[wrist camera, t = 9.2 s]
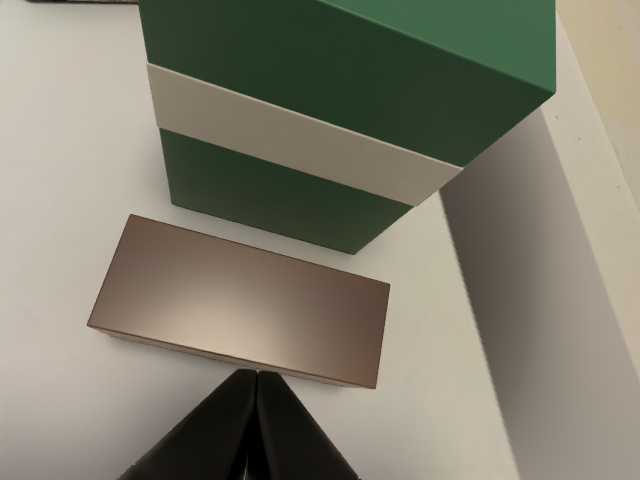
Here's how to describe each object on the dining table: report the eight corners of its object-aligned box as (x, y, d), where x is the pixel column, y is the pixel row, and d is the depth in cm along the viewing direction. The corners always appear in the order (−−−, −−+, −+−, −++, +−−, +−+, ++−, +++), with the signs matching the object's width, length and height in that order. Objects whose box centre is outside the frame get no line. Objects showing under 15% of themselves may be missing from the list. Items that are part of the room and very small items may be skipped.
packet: (355, 256, 21) (559, 96, 9) (170, 204, 19) (119, -76, 7) (367, 184, 22) (557, -36, 10) (196, 130, 21) (189, -204, 9)
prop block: (342, 386, 19) (376, 389, 15) (110, 336, 17) (85, 325, 13) (356, 300, 20) (391, 283, 17) (144, 245, 18) (129, 213, 15)
